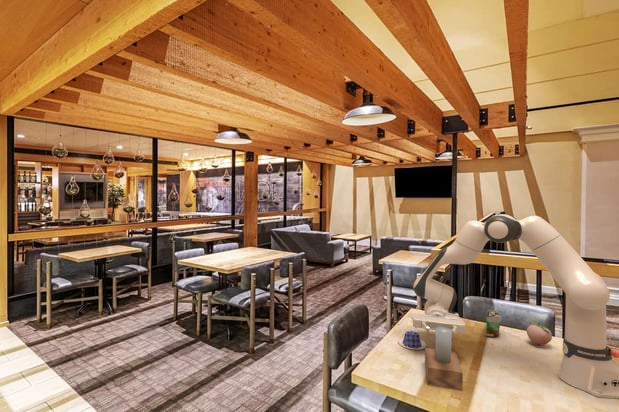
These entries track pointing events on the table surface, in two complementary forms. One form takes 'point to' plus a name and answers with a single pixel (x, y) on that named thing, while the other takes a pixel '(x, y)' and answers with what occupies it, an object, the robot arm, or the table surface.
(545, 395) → the table surface
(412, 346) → the pudding
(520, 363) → the table surface
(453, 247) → the robot arm
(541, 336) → the decorative fruit
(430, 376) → the walnut block
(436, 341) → the metal cylinder
